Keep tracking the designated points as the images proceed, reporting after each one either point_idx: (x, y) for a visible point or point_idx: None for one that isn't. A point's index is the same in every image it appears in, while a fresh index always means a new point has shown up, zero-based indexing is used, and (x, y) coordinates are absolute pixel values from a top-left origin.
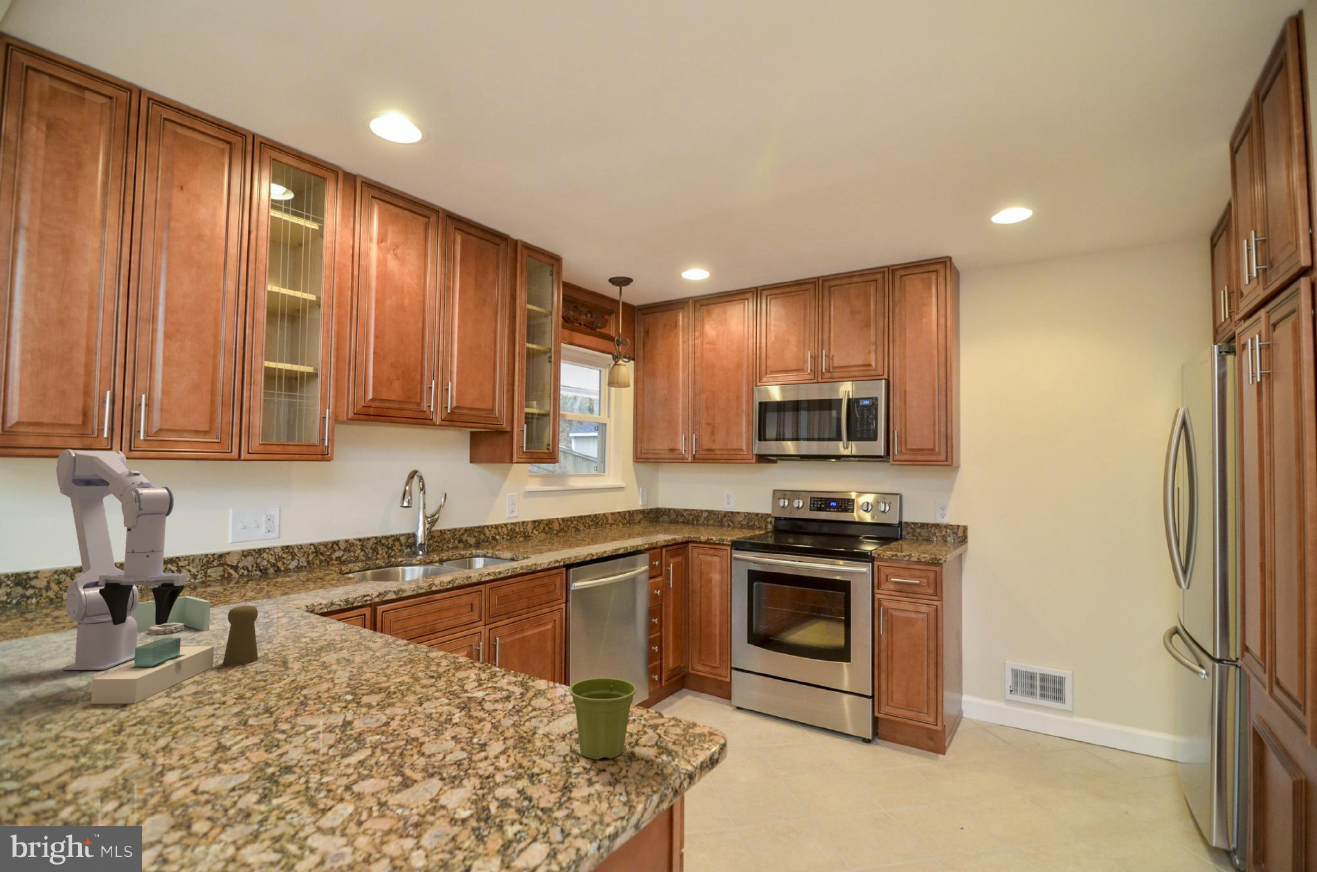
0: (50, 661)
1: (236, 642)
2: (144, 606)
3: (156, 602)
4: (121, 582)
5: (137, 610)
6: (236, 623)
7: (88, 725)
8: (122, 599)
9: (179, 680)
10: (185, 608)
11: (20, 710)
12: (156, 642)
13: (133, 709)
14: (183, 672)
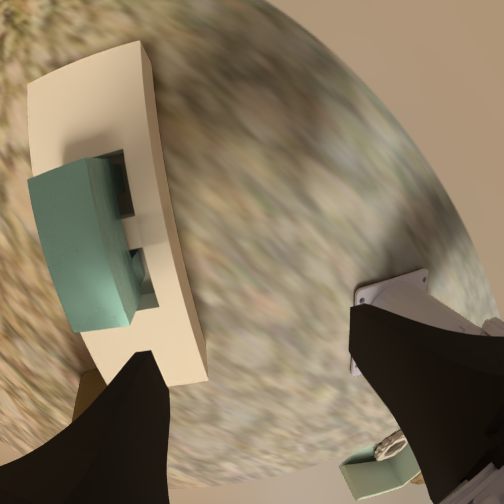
0: (460, 305)
1: (82, 409)
2: None
3: (96, 435)
4: (491, 480)
5: None
6: None
7: (64, 3)
8: (421, 412)
9: None
10: (393, 475)
11: (279, 21)
12: (84, 255)
13: (38, 74)
14: None
